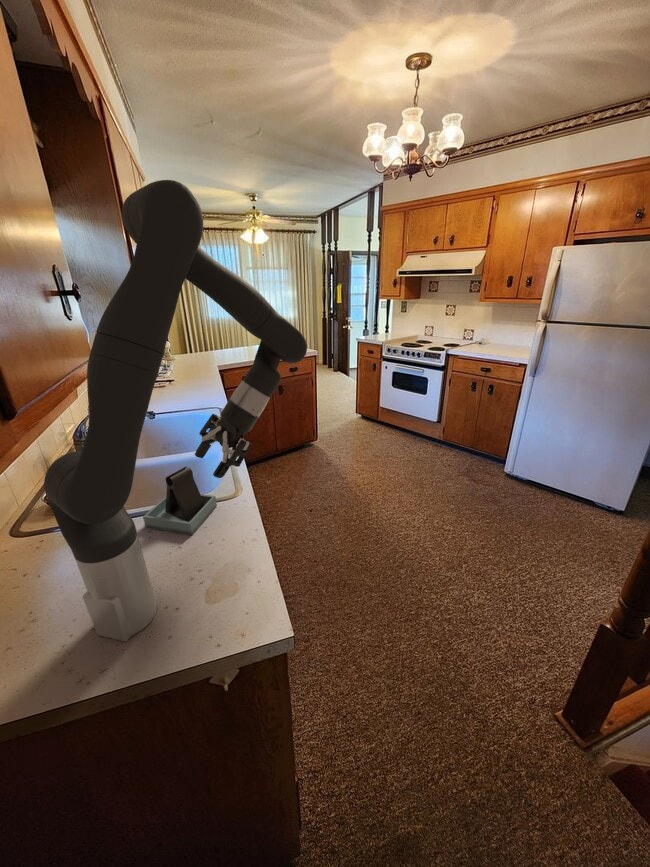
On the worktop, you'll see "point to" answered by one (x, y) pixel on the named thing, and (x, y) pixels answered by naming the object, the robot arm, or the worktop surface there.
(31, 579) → the worktop surface
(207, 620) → the worktop surface
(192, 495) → the phone stand
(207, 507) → the slate tray
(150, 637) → the worktop surface
